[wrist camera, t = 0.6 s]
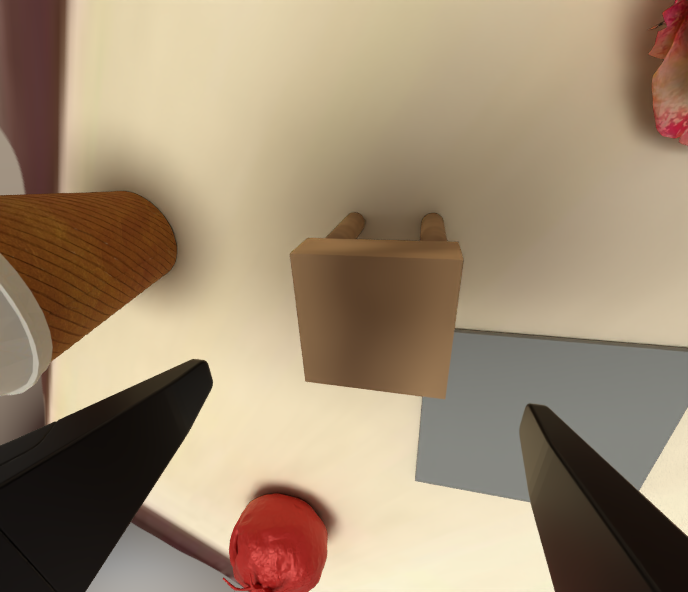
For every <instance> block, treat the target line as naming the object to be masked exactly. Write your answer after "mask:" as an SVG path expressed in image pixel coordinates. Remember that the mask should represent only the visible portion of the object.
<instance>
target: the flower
mask: <svg viewBox="0 0 688 592" xmlns="http://www.w3.org/2000/svg"><path fill="white" fill-rule="evenodd" d="M662 14H663V18H664V20H665V21H664V22H662V23H660V24H658V25H656V26H654V27H652V28H650V29H654V28H657V27H658V26H660V25H663V24H665V23H666V25H667V27H666V28H664V29H663V30H661V31H658V33H657V37H656V41H655V45H654V47H653V48H652V49H651V51H650V52H649V54H648V55H651V56H653V57H656V58H660V59H664V61H663V62H662V64H661V65H660V67H659V68H658V69H657V71H656V72H655V73H654V75H653V78H652V96H653V111H654V117H655V122H656V128H657V130H658V132H659V133H660V134H661V135H662V136H665V137H670V138H678V137H680V139H679V142H680V143H681V144H684V145H687V146H688V0H675V3H674V5H672V6H671V7H670V8H668V9H667V10H666V11H664V12H663V13H662ZM650 29H648V30H650Z"/></svg>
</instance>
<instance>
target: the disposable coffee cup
mask: <svg viewBox="0 0 688 592" xmlns="http://www.w3.org/2000/svg"><path fill="white" fill-rule="evenodd" d="M176 254H177V247H176V241H175V238H174V234H173V231H172V229H171V227H170V225H169V223H168V222H167V220H166V219H165V217H164V216H163V215H162V213H161V212H160V211H159V210H158V209H157V208H156V207H155V206H154V205H153V204H152V203H151V202H149V201H148V200H146V199H145V198H143V197H142V196H139V195H137V194H135V193H132V192H127V191H114V192H90V193H56V194H30V195H0V396H3V395H14V394H19V393H23V392H24V391H26V390H27V389H29V388H30V387H31V386H33V385H34V384H36V383H37V380H38V379H39V378H40V376H41V374H42V373H43V372H44V371H45V370H47V368H48V366H49V364H50V362H51V361H53V360H54V359H55V358H57V357H58V356H59V355H61V354H62V353H63V352H64V351H65V350H67V349H69V348H70V347H71V346H72V345H73V344H75V343H76V342H78V341H79V340H80V339H82V338H83V337H84V336H85V335H87V334H88V333H90V332H91V331H92V330H93V329H94V328H96V327H97V326H99V325H100V324H101V323H102V322H103V321H106V320H107V319H108V318H109V317H110V316H111V315H113V314H114V313H115V312H117V311H118V310H119V309H121V308H122V307H123V306H124V305H126V304H127V303H129V302H130V301H131V300H132V299H133V298H135V297H136V296H138V295H139V294H140V293H142V292H143V291H144V290H145V289H146V288H148V287H149V286H151V285H152V284H153V283H155V282H156V281H157V280H158V279H160V278H161V277H162V276H164V275H166V274H167V273H168V272H169V271H170V270H171V269H172V267H173V265H174V264H175V261H176Z"/></svg>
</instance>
